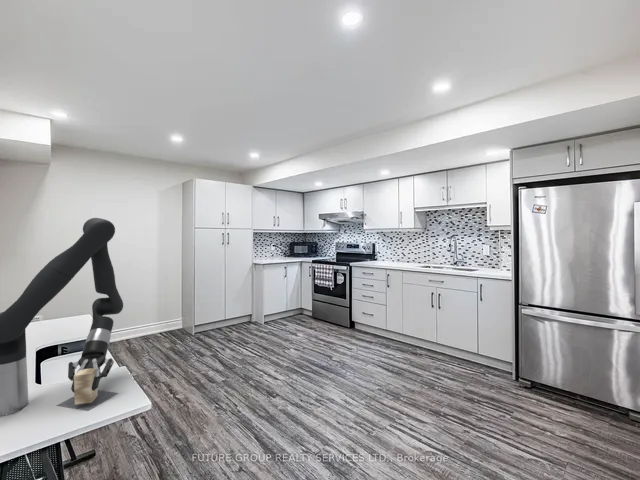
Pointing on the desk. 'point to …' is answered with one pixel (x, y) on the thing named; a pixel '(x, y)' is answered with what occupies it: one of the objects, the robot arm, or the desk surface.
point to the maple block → (84, 386)
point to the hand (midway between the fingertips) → (83, 390)
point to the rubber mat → (88, 406)
